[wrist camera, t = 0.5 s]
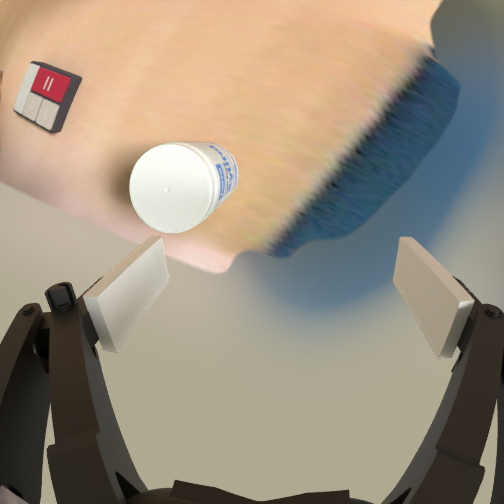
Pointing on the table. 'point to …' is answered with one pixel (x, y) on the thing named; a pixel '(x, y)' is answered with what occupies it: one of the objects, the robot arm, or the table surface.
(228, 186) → the supplement tub
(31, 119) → the calculator
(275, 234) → the table surface
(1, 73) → the wooden l-shaped bracket
